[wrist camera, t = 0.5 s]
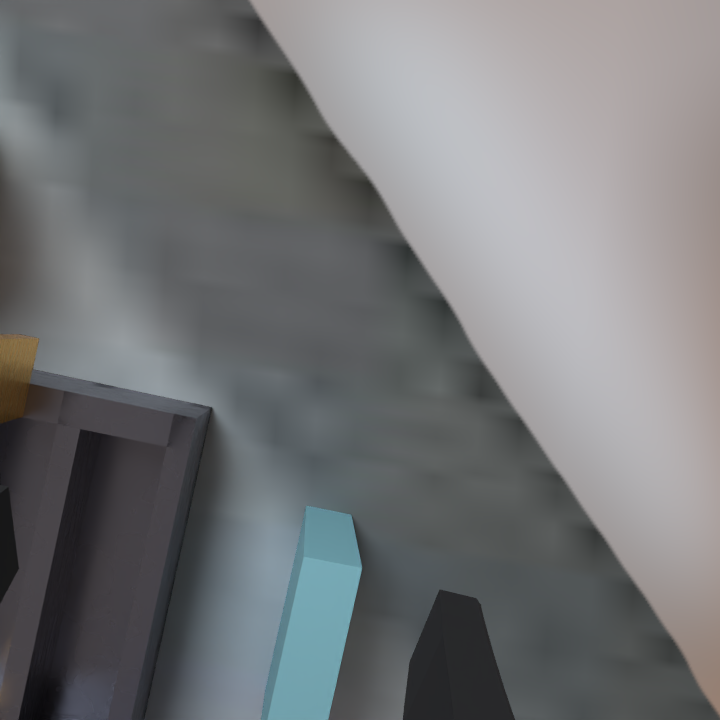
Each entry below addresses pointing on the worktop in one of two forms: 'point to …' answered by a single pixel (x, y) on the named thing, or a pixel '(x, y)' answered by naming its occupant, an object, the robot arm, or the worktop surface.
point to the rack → (89, 537)
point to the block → (314, 619)
